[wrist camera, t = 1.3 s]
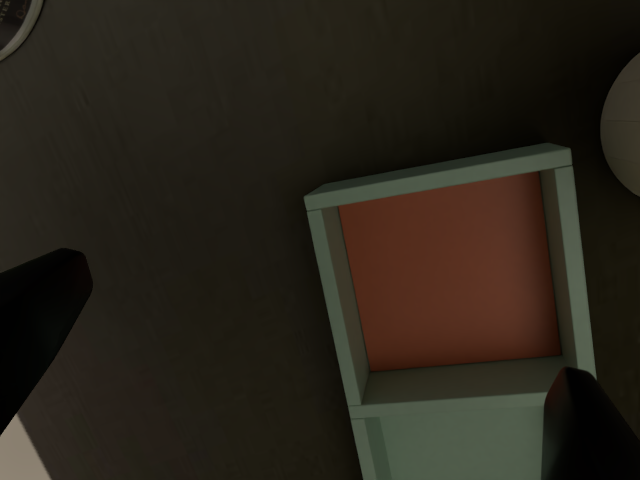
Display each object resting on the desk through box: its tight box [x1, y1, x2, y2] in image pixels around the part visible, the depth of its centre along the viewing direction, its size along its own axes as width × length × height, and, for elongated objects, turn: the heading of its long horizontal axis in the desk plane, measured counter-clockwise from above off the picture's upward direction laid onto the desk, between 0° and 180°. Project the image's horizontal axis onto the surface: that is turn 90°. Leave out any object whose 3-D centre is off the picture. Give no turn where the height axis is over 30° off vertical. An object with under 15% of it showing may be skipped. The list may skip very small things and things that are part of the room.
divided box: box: [304, 143, 597, 480], centre depth 22 cm, size 18×10×4 cm, turn 13°
